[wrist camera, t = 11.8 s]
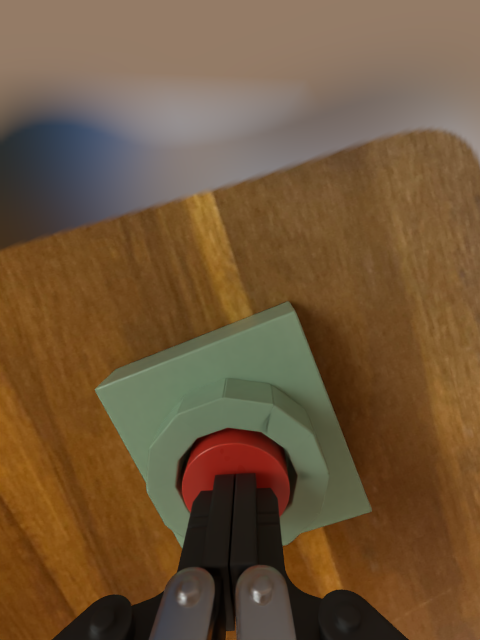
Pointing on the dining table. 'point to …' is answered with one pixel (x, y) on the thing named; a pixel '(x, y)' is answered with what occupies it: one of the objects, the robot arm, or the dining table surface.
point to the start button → (236, 463)
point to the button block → (237, 416)
